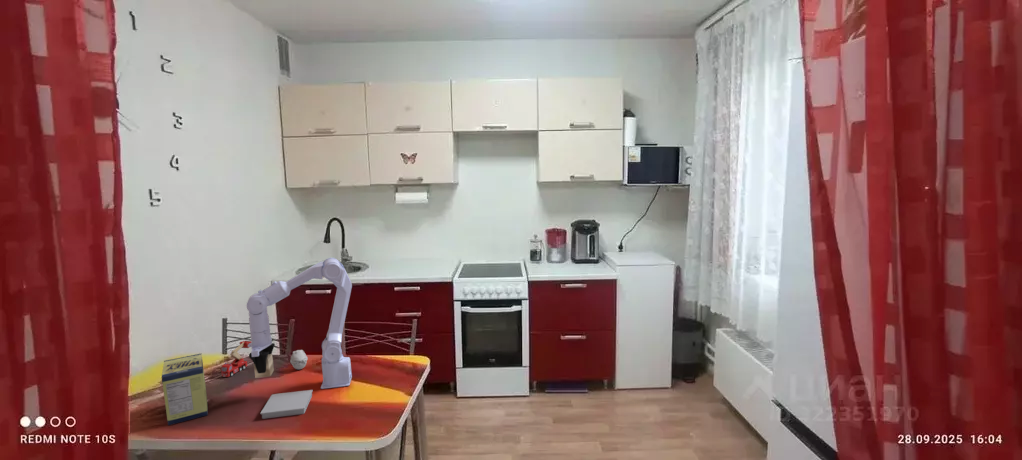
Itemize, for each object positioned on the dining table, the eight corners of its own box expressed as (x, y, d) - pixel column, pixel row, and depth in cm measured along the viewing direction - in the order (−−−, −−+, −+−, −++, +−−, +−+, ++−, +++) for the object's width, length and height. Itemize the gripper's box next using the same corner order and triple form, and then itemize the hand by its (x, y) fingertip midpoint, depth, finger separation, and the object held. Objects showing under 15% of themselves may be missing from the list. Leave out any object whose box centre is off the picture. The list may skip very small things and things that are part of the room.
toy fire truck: (220, 377, 176) (217, 352, 174) (247, 362, 189) (245, 339, 188) (228, 378, 175) (225, 353, 174) (255, 363, 188) (252, 339, 187)
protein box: (207, 396, 161) (201, 352, 159) (208, 415, 148) (203, 367, 146) (169, 405, 155) (163, 360, 153) (167, 426, 143) (160, 377, 140)
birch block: (273, 370, 162) (272, 353, 161) (270, 376, 157) (268, 359, 157) (259, 372, 161) (257, 355, 160) (255, 378, 156) (253, 360, 156)
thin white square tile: (313, 396, 160) (312, 389, 159) (305, 415, 147) (304, 408, 147) (272, 401, 157) (272, 394, 157) (261, 421, 145) (260, 413, 145)
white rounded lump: (306, 363, 186) (304, 346, 185) (310, 369, 180) (308, 351, 180) (289, 367, 183) (287, 350, 182) (292, 373, 177) (291, 355, 176)
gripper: (254, 324, 163) (258, 362, 165) (239, 338, 149) (243, 380, 151) (276, 322, 165) (279, 359, 166) (263, 336, 151) (267, 377, 152)
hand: (264, 369), depth 159 cm, fingers closed on birch block, 4 cm apart
